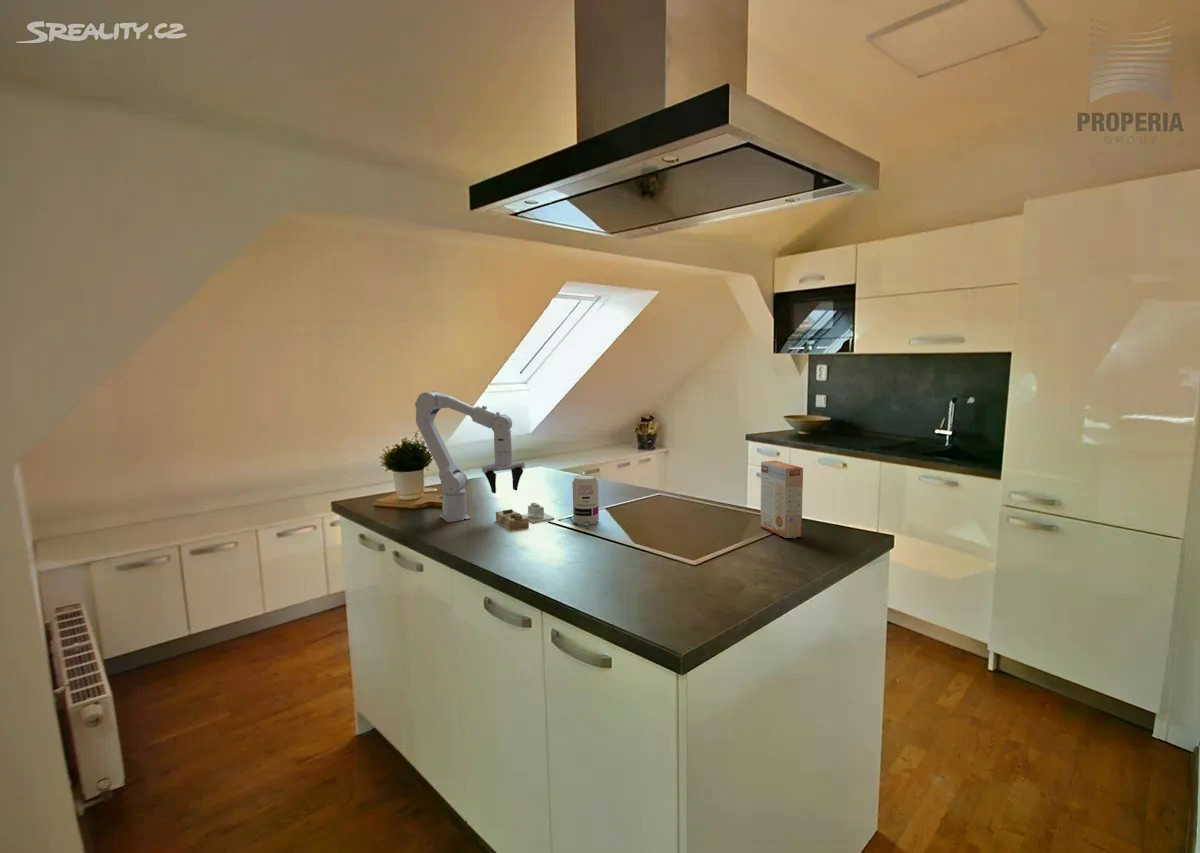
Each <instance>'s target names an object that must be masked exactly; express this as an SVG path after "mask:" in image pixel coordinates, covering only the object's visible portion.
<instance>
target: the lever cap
mask: <svg viewBox="0 0 1200 853" xmlns="http://www.w3.org/2000/svg"><path fill="white" fill-rule="evenodd" d="M544 513H545V510H544V506H542V505H540V504H538V503H536V502H532V503H531V502H530V505H528V506H527V514H528V516H529V517H531V518H533V519H538V518H544Z"/></svg>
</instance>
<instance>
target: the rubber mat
mask: <svg viewBox="0 0 1200 853" xmlns="http://www.w3.org/2000/svg"><path fill="white" fill-rule="evenodd" d="M522 515H523V516H525V517H526V518H528V519H529V522H530V523H531V524H537V523H542V522H549V521H554V520H553V519H555V517H554V516H552V515H550V514H548V513H546V512H544V518H538V519H533V518H531V517H529V516H528V513H525V514H522ZM548 520H549V521H548Z"/></svg>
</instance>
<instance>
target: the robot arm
mask: <svg viewBox="0 0 1200 853" xmlns="http://www.w3.org/2000/svg"><path fill="white" fill-rule="evenodd" d="M414 406H415V409H416V410H415V423H416V425H417V428H418V430H419V432H420V434H421V436H422V438H423V440H424V442H425V444H426V446H427V449H428V450H429V452H430V454H431V456H432V458H433V460H434V462H435V464H436V465H437V468H438V469H439V470H438V471H439V472H438V477H439V480H440V488H441V489H442V490H441V491H442V492H443V495H442V497H441V498H442V499H441V502H442V505H441V506H442V514H440V515H439V516H440V517H441V519H443V520H444V521H446V522H447V523H453V522H458V521H465V520H464V519H466V520H471V518H472V517H471V516H469V515H468V514H467V494H466V488H465V486H466V485H467V484H468V476H467V475H466V474H465V473H464V472H463V471H462V470H461V469H460V467H459V466H458V465H457V464H456V463H455V462H454V460H453V459H452V456H451V454H450V453H449V450H448V448H447V446H446V444H445V442H444V440H443V438H442V437H441V434H440V432H439V430H438V428H437V425H436V424H435V422H434V421H435V418H436V417H437V414H438V413H439V412H440V410H441V409H447V408H448V409H451V410H453V411H456V412H459V413H461V414H464V415H467V416H469V417H470V418H471V420H472V422H473V423H476V424H479V425H481V426H482V427H486V428H488V429H491V430H492V432H493V445H494V448H493V449H494V450H493V451H494V464H488V465H482V466H481V472H482V473H484V475H485V478H486V479H487V481H488V483H489V486H490V490H491V493H493V494H496V493H497V488H496V487H497V486H496V485H497V484H496V483H497V482H496V480H497V479H496V478H497V473H495V472H499V471H508V470H510V471H511V480H512V489H513V490H514V491H518V489H519V488H518V487H519V483H520V480H521V476H522V475H523V473H524V469H525V467H526V466H525V465H526V463H525V462H524V461H515V462H513V453H512V452H513V450H512V431H511V429H512V428H513V420H512V418H510V417H509V416H508V415H507V414H501V412H499V411H493V410H491V409H489V408H488V406H486V405H478V406H475V407H474V406H472V405H471V404H468V403H467V402H464V401H462V400H459V399H458V398H455V397H454V396H451V395H449V394H447V393H441V391H437V390H434V391H430V392H428V391H427V392H422V393H420V394H419V395H418V397H417V399H416V401H415V402H414Z"/></svg>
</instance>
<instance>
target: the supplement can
mask: <svg viewBox="0 0 1200 853" xmlns="http://www.w3.org/2000/svg"><path fill="white" fill-rule="evenodd" d="M572 507H573V508H572V509H573V510H572V511H573V512H572V513H573V515H572V516H573V519H572V521H573V522H574V523H575V522H576V523H578V524H577V525H579V524H592V525H594V524H593V523H595V524H597V523H598V521H599V520H600V517H599V516H600V515H599V514H600V513H599V480H598V479H597V477H596V476H595V475H590V474H586V475H585V474H584V475H576V476H574V479H573V481H572ZM596 522H597V523H596ZM576 523H575V524H576Z"/></svg>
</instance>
